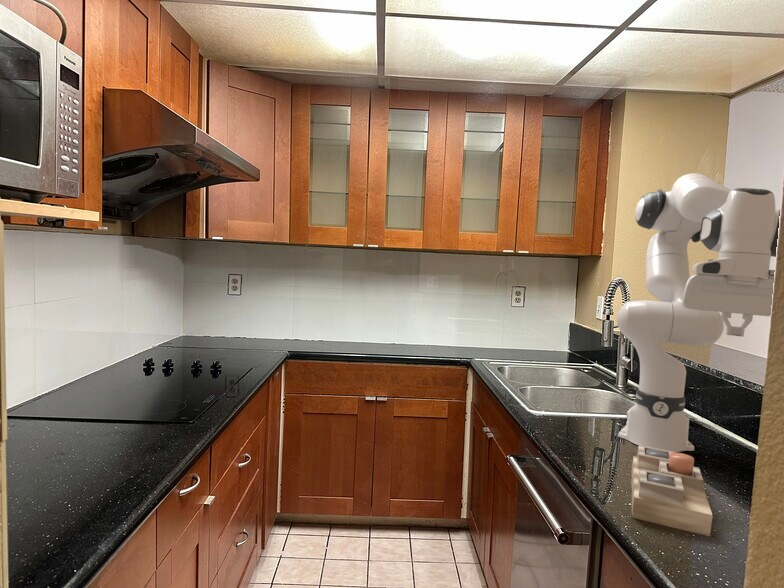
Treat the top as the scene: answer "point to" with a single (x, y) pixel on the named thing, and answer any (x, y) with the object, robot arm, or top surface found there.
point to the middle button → (681, 463)
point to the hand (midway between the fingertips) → (734, 335)
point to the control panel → (669, 495)
